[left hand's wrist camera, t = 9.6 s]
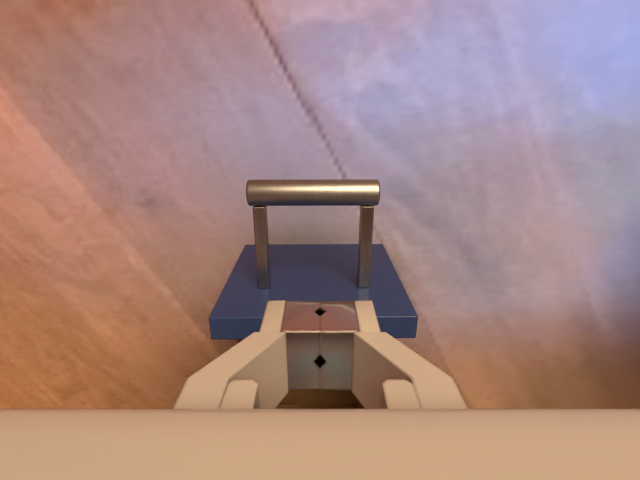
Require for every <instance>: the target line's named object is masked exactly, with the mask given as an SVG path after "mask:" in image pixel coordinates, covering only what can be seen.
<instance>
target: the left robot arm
mask: <svg viewBox="0 0 640 480" xmlns="http://www.w3.org/2000/svg"><path fill="white" fill-rule="evenodd" d="M288 390H352V393H353V394H354V395H355V397H356V398H357V399H358V400H359V402H360V403H361V404H362V405H363V407H364V408H365V409H275V408H276V407H277V406H278V404H279V403H280V402H281V401H282V399H283V398H284V397H285V396H286V395H287V393H288ZM0 480H640V409H467V407H466V405H465V402H464V400H463V398H462V396H461V394H460V392H459V390H458V388H457V386H456V384H455V382H454V380H453V378H451V377H450V376H449V375H447V374H446V373H444V372H443V371H441V370H440V369H438V368H437V367H436V366H434V365H433V364H431V363H430V362H428V361H427V360H425V359H424V358H423V357H421V356H420V355H418V354H417V353H415V352H414V351H412V350H411V349H410V348H408V347H407V346H405V345H404V344H402V343H401V342H399V341H398V340H397V339H395V338H394V337H392V336H391V335H389V334H388V333H386V332H381V331H380V327H379V324H378V320H377V317H376V313H375V309H374V306H373V302H372V301H371V300H359V301H290V300H287V301H285V300H269V301H268V302H267V305H266V309H265V313H264V316H263V320H262V324H261V327H260V331H259V332H254V333H252V334H251V335H249V336H248V337H246V338H245V339H243V340H242V341H241V342H239V343H238V344H236V345H235V346H233V347H232V348H230V349H229V350H227V351H226V352H225V353H223V354H222V355H220V356H219V357H217V358H216V359H214V360H213V361H211V362H210V363H209V364H207V365H206V366H204V367H203V368H201V369H200V370H198V371H197V372H196V373H194V374H193V375H191V376H190V377H188V378H187V380H186V382H185V384H184V386H183V388H182V390H181V392H180V394H179V396H178V398H177V401H176V403H175V405H174V407H173V409H0Z"/></svg>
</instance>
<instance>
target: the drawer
mask: <svg viewBox="0 0 640 480" xmlns="http://www.w3.org/2000/svg"><path fill="white" fill-rule="evenodd" d="M246 197H247V202H248V205H250V206H253V219H254V234H255V245H245V247H244V249H243V251H242V253H241V255H240V257H239V259H238V261H237V263H236V265H235V267H234V269H233V271H232V273H231V275H230V277H229V279H228V281H227V283H226V285H225V287H224V289H223V291H222V293H221V295H220V297H219V299H218V301H217V303H216V305H215V307H214V309H213V311H212V313H211V315H210V317H209V324H210V331H211V338H212V339H238V341H237V344H238V343H239V342H241V341H242V340H243V339H245V338H246V337H248V336H249V335H251V334H252V333H254V332H259V331H260V327H261V324H262V320H263V316H264V313H265V309H266V305H267V302H268V301H269V300H285V301H287V300H290V301H359V300H371V301H372V302H373V306H374V309H375V313H376V317H377V320H378V324H379V327H380V331H381V332H386V333H388V334H389V335H391V336H392V337H394V338H415V337H416V330H417V321H418V316H417V314H416V311H415V309H414V307H413V305H412V303H411V301H410V299H409V297H408V295H407V293H406V291H405V289H404V287H403V285H402V283H401V281H400V279H399V277H398V275H397V272H396V270H395V268H394V266H393V264H392V262H391V260H390V258H389V256H388V254H387V252H386V250H385V248H384V246H383V244H372V234H373V216H374V206H373V205H378V203H379V200H380V184H379V181H378V180H248V181H247V185H246ZM308 205H360V223H359V244H334V245H269V242H268V223H267V206H308ZM275 409H365V408H364V407H363V405H362V404H361V403H360V402H359V400H358V399H357V398H356V397H355V395H354V394H353V393H352V390H288V393H287V395H286V396H285V397H284V398H283V399H282V401H281V402H280V403H279V404H278V406H277V407H276V408H275Z"/></svg>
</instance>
